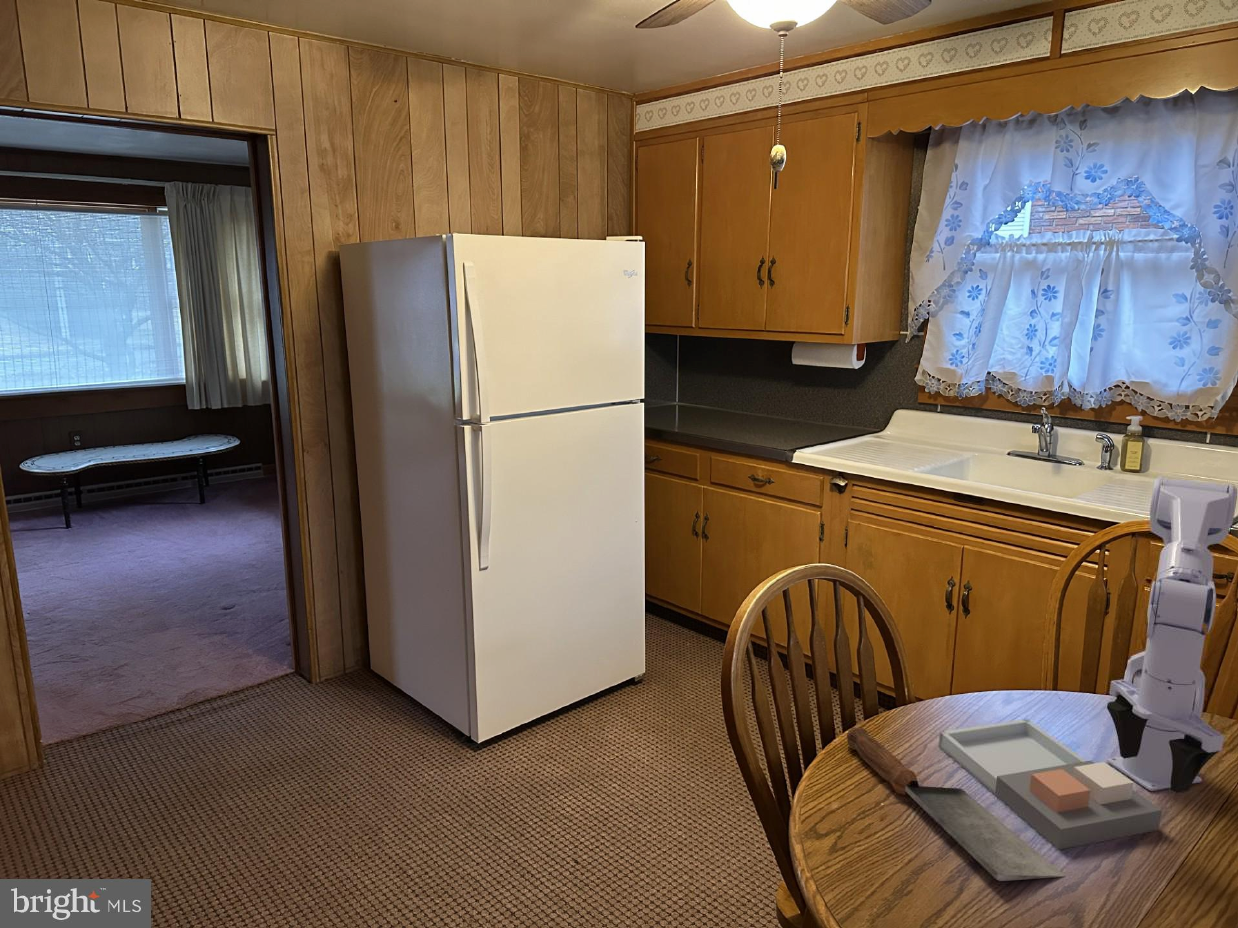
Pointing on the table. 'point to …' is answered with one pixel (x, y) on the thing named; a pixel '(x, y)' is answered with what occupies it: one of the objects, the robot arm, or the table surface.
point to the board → (1076, 812)
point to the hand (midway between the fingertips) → (1153, 772)
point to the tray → (1004, 750)
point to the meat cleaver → (958, 817)
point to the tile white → (1104, 782)
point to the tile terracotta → (1059, 790)
